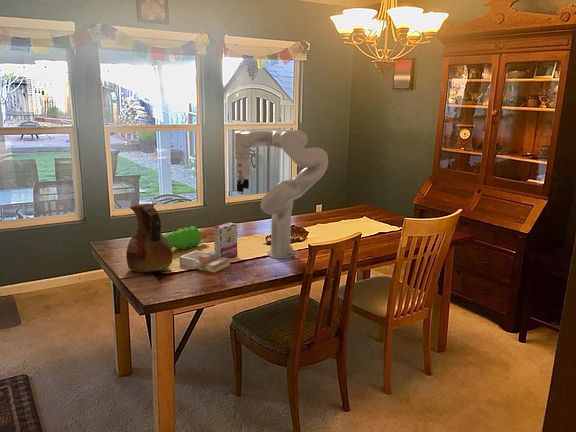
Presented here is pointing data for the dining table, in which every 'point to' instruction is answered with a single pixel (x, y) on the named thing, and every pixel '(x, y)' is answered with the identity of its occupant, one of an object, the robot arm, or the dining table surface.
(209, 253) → the tile
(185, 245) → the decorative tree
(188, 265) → the tray
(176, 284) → the dining table surface
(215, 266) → the board
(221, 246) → the candy bar box
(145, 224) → the ceramic pitcher
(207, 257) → the tile
